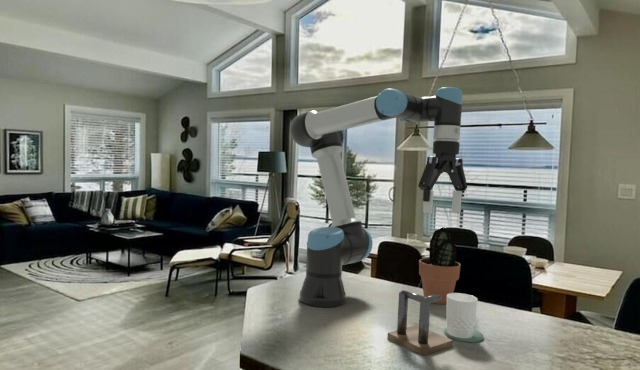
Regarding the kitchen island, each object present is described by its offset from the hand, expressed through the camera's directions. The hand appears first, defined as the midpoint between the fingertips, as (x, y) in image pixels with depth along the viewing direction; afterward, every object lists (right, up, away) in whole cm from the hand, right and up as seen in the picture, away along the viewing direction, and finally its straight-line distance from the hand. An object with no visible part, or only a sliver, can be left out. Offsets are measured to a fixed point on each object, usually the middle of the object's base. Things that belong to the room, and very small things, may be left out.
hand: (442, 212), depth 130 cm
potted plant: (+4, -31, +19) cm, 37 cm away
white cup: (+1, -32, -13) cm, 35 cm away
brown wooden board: (-11, -32, -19) cm, 39 cm away
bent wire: (-11, -30, -18) cm, 37 cm away
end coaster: (+2, -32, -12) cm, 35 cm away
